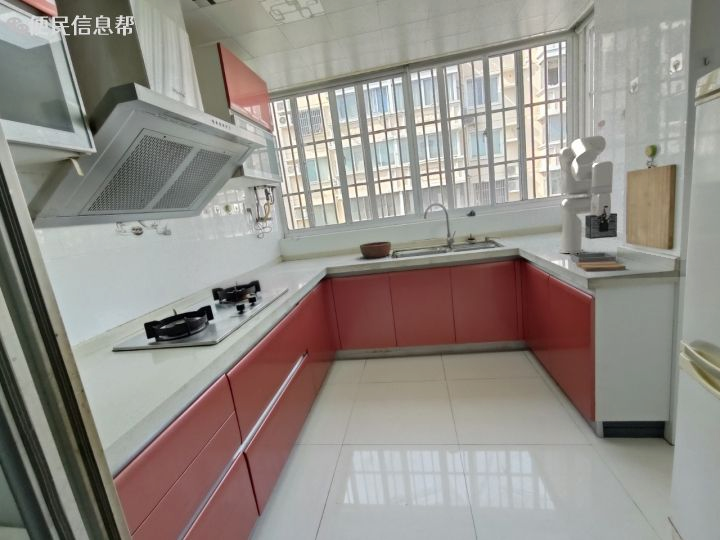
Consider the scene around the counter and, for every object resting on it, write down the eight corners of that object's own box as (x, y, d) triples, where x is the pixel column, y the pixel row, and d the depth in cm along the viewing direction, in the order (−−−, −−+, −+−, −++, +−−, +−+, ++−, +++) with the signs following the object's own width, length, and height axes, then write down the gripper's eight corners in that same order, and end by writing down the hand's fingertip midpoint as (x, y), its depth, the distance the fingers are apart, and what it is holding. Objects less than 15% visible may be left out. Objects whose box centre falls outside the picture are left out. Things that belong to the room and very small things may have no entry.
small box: (610, 235, 152) (611, 212, 150) (617, 237, 146) (618, 213, 144) (584, 237, 155) (584, 215, 153) (589, 239, 149) (590, 215, 147)
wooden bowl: (367, 254, 281) (365, 242, 279) (395, 252, 272) (394, 240, 270) (356, 259, 258) (355, 247, 256) (386, 258, 249) (385, 244, 247)
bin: (570, 259, 175) (570, 254, 174) (604, 258, 170) (604, 252, 170) (578, 264, 163) (578, 258, 163) (615, 262, 158) (615, 256, 158)
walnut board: (576, 265, 161) (576, 262, 161) (612, 263, 157) (612, 260, 156) (586, 271, 149) (586, 268, 149) (625, 269, 144) (625, 266, 144)
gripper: (584, 191, 156) (584, 229, 159) (599, 191, 139) (598, 233, 143) (603, 189, 153) (602, 228, 157) (620, 189, 137) (619, 231, 140)
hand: (600, 230), depth 150 cm, fingers closed on small box, 6 cm apart
